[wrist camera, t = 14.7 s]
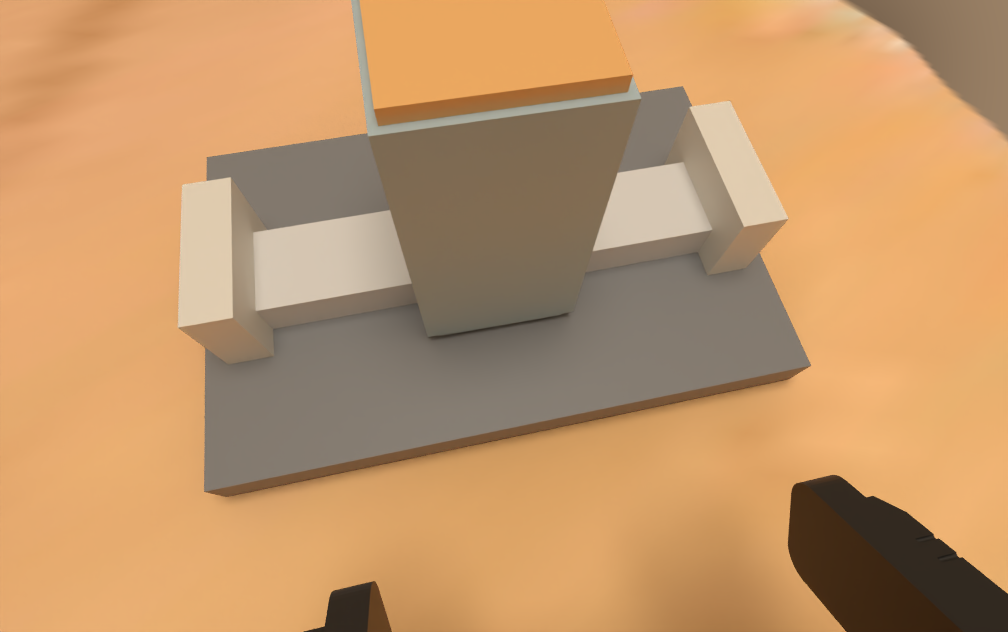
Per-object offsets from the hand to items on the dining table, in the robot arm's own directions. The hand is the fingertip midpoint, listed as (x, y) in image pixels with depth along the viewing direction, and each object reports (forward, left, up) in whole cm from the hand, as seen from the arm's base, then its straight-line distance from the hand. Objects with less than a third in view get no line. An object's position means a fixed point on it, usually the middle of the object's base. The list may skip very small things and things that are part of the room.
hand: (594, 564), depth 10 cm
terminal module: (-2, +10, -6) cm, 12 cm away
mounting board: (-2, +10, -8) cm, 13 cm away
